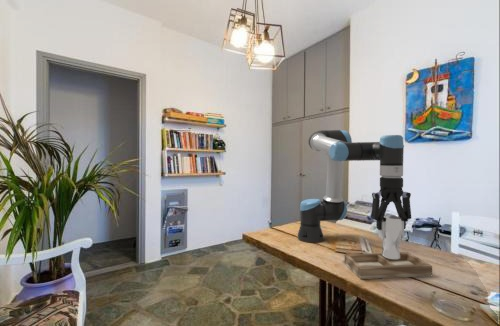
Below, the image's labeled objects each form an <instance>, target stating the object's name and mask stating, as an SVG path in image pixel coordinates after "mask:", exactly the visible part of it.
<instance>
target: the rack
mask: <svg viewBox="0 0 500 326" xmlns="http://www.w3.org/2000/svg"><path fill="white" fill-rule="evenodd" d="M399 252H400V251H399ZM344 265H346V267H347V268H348V269H350V271H351V272H353V274H354V275H355V276H357V277H358V278H359V279H360V280H368V279H369V280H372V279H392V278H393V279H394V278H415V277H417V276H420V277H432V276H433V265H431V264H430V263H428V262H426V261H424V260H423V259H421V258H419V257H418V256H415V255H414V254H412V253H410V252H408V251H404V252H400V259H397V260H394V259H388V258H385V257H383V256H382V252H381V253H380V252H378V253H377V252H376V253H374V252H373V253H354V254H353V253H352V254H344ZM431 275H432V276H431ZM417 278H418V277H417Z"/></svg>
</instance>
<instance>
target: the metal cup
mask: <svg viewBox="0 0 500 326" xmlns="http://www.w3.org/2000/svg"><path fill="white" fill-rule="evenodd" d="M383 221H384V222H385V239H381V240H382V250H381V253H382V256H383V257H385V258H388V259H394V260H397V259H400V245H401V240H402V239H401V236H402V218H401V217H399V216H398V215H395V214H385V215H384V218H383Z"/></svg>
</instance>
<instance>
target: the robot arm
mask: <svg viewBox="0 0 500 326" xmlns="http://www.w3.org/2000/svg"><path fill="white" fill-rule="evenodd" d="M307 141H308V142H307V143H308V147H309V148H311V149H312V150H313V151H315V152H316V151H317V152H322V153H325V155H326V156H327V166H326V167H327V168H326V185H325V187H326V188H325V195H324V196H323V197H322V200H320V199H319V198H308V199H304V200H302V201H301V202H300V205H299V211H300V212H299V213H300V214H299V215H300V221H299V222H300V225H299V229H298V232H297V239H298V240H300V241H301V242H306V243H312V244H314V243H321V242H323V241H324V239H325V238H324V232H323V230H322V227H321V222H330V221H331V222H333V221H336V222H338V221H343V220H344V219H345V218H346V216H347V214H348V207H347V206H348V205H347V202H345V200H344V198H343V197H342V188H343V171H344V162H350V161H351V162H352V161H355V162H356V161H357V162H358V161H363V162H364V161H379V176H380V177H379V187H380V188H379V190H378V191H377V192H372V193H371V196H372V206H371V214H370V217H371V219H373V220H375V221H376V222H375V223H376V226H375V227H376V229H377V230H378V232H377V233H378V238H379V239H381V240H382V239H385V222H384V221H383V218H384V215H386V212H387V208H388V206H389V205H390V203H393V205H394V207H395V210H396V212H397V216H399V217H401V218H402V236H401V240H404V239H405V230H406V227H407V226H406V225H407V224H406V222H409V220H411V219H412V209H411V195H412V193H410V192H407V191H404V190H403V188H404V178H403V176H404V149H405V148H404V147H405V145H404V137H403V136H402V135H400V134H389V135H387V134H386V135H381V137H380V138H379V141H365V142H364V141H363V142H362V141H360V142H358V141H357V142H353V140H352V136H351V134H350V133H349V131H347V130H343V129H333V130H332V129H330V130H328V129H325V130H317V131H314V132H313V133H312V134H311V135H309V138H308V140H307Z"/></svg>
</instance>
